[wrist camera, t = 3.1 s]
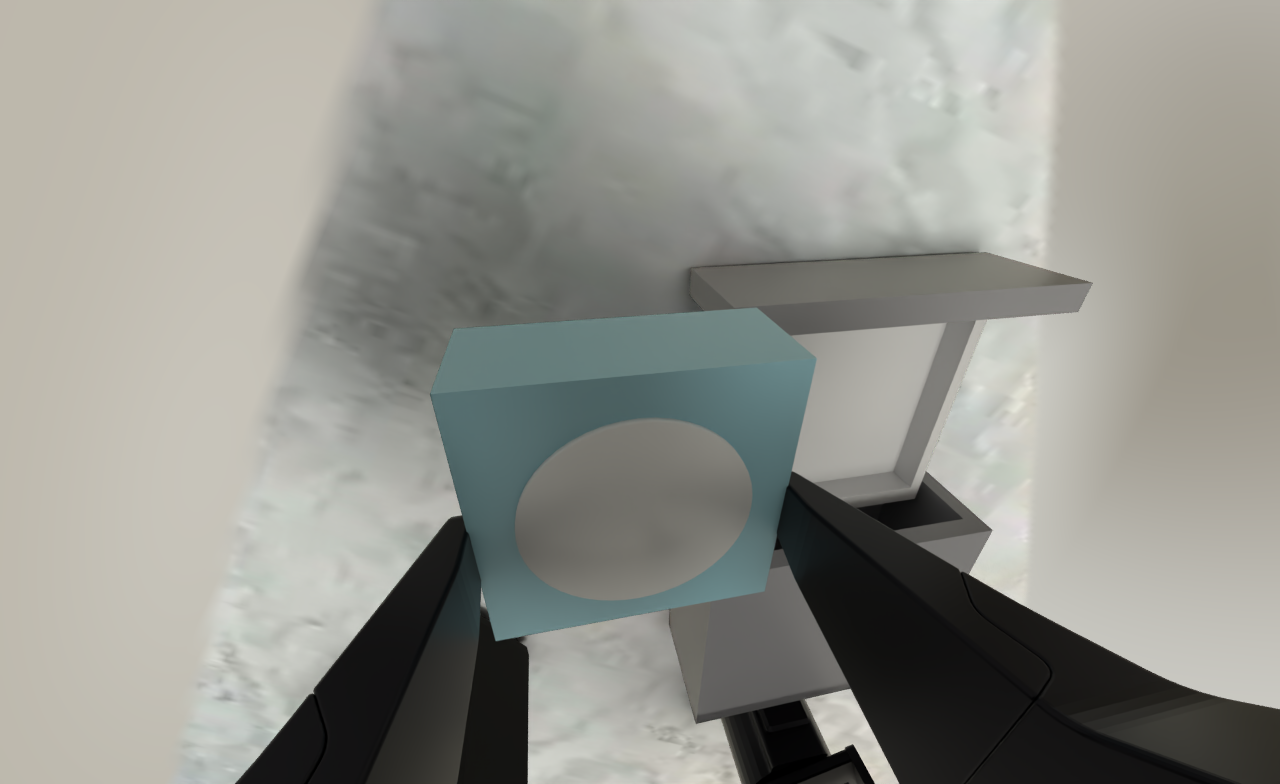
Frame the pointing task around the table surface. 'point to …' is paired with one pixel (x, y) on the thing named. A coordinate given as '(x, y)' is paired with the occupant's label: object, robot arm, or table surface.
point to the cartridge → (620, 460)
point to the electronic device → (497, 713)
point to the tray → (884, 351)
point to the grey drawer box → (799, 618)
